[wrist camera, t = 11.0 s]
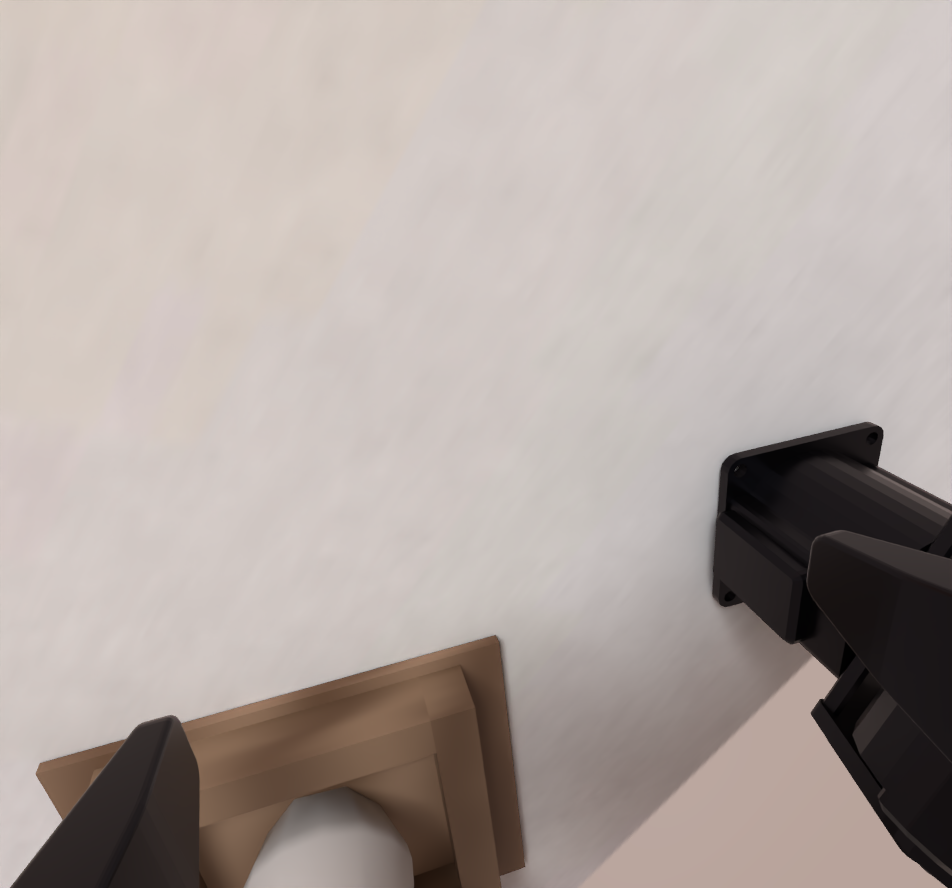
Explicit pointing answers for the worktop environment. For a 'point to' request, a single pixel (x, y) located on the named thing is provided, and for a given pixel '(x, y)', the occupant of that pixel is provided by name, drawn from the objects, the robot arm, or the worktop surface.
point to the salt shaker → (333, 846)
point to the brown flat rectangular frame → (356, 766)
